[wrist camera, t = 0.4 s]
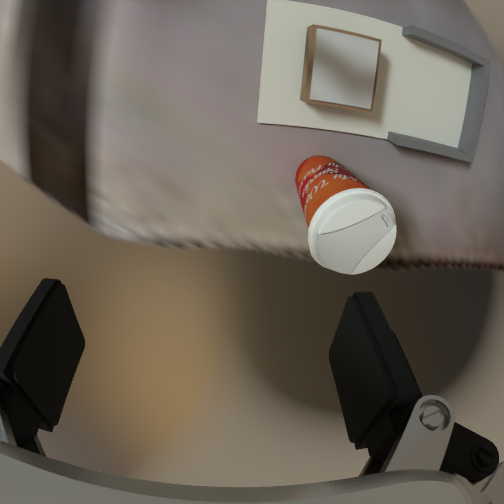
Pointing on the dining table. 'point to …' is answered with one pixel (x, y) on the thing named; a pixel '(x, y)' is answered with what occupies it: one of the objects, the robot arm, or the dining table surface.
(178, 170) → the dining table surface
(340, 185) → the paper cup
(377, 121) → the dock bay
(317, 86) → the white wood-edged tile
